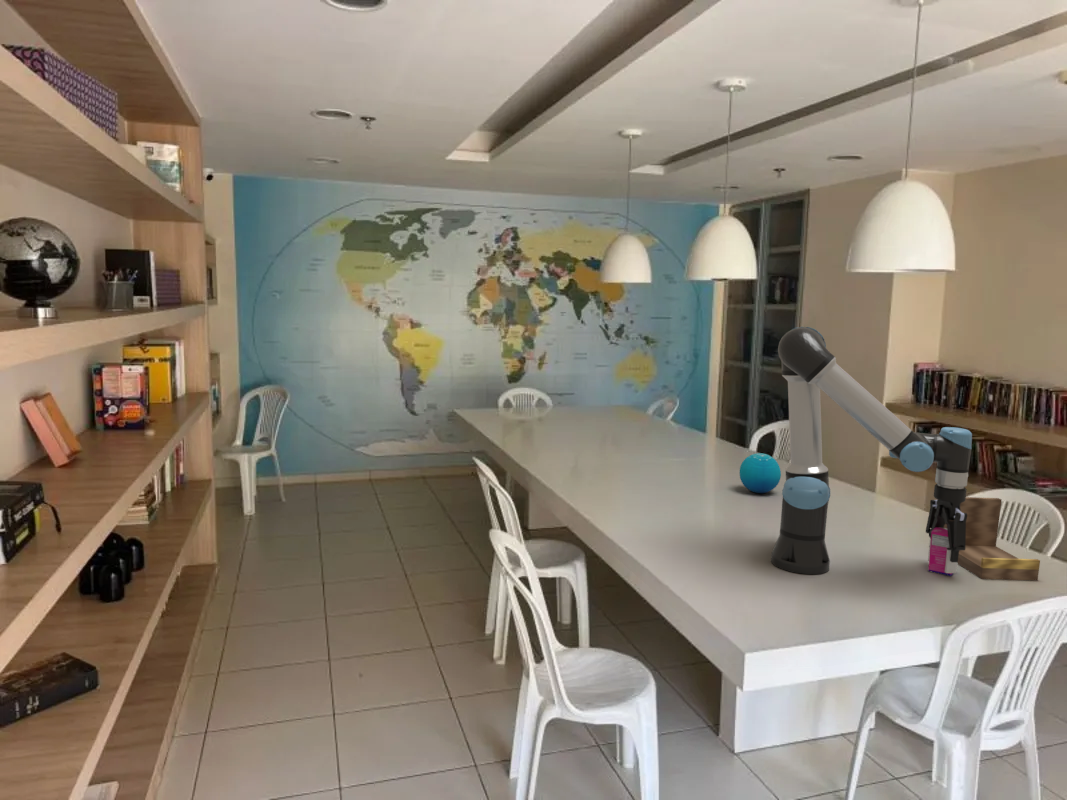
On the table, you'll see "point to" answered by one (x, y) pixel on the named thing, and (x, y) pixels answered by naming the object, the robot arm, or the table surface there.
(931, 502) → the robot arm
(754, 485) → the decorative orb
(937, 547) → the supplement box
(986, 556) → the display shelf
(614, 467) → the table surface
